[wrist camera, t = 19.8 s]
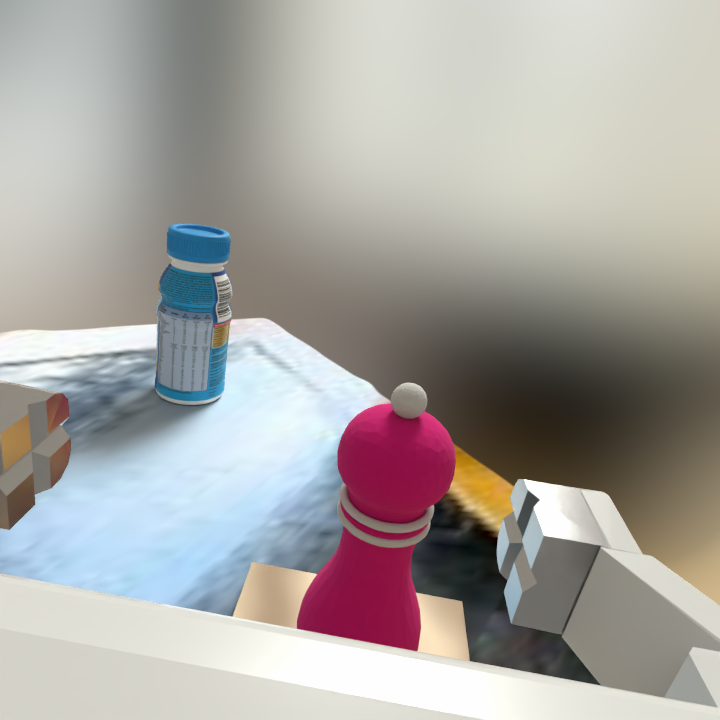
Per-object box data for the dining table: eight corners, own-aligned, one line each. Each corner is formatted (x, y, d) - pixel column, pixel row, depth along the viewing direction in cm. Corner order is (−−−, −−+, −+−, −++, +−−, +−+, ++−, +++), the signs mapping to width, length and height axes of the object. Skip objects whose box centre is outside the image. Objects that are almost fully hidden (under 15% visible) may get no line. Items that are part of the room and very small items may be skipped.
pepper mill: (400, 752, 30) (493, 435, 23) (273, 719, 31) (325, 399, 24) (408, 644, 37) (481, 372, 30) (303, 618, 38) (350, 345, 30)
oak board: (166, 811, 27) (167, 792, 27) (250, 577, 42) (252, 562, 42) (486, 873, 27) (494, 855, 27) (457, 616, 42) (462, 601, 41)
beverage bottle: (163, 411, 63) (171, 235, 56) (146, 380, 69) (150, 218, 62) (234, 403, 68) (250, 240, 60) (212, 374, 74) (223, 224, 67)
